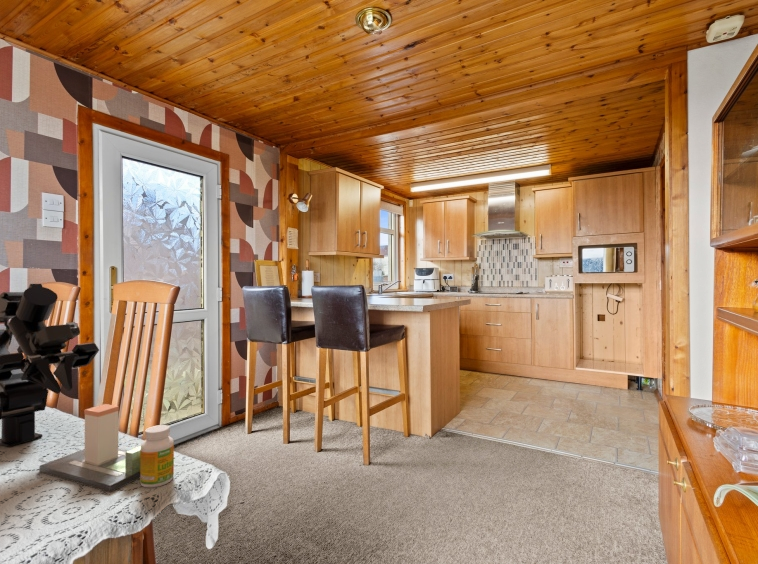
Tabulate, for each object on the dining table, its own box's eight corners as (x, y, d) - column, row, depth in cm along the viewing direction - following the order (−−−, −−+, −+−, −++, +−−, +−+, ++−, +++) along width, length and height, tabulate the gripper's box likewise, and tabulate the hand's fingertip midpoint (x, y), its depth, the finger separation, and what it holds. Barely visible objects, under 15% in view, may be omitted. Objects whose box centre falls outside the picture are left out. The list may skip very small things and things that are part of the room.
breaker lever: (84, 460, 79) (84, 409, 78) (105, 452, 82) (105, 403, 82) (98, 464, 77) (98, 412, 77) (118, 455, 81) (118, 406, 81)
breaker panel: (39, 471, 77) (39, 445, 77) (97, 449, 87) (97, 425, 87) (110, 492, 69) (110, 462, 69) (164, 465, 79) (164, 439, 79)
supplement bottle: (158, 490, 70) (159, 435, 70) (132, 486, 71) (133, 432, 71) (180, 475, 75) (180, 424, 75) (155, 472, 77) (155, 422, 77)
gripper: (-5, 314, 77) (29, 376, 73) (94, 308, 95) (126, 358, 90) (-28, 352, 80) (4, 413, 76) (72, 339, 97) (102, 389, 93)
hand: (65, 391), depth 84 cm, fingers closed
